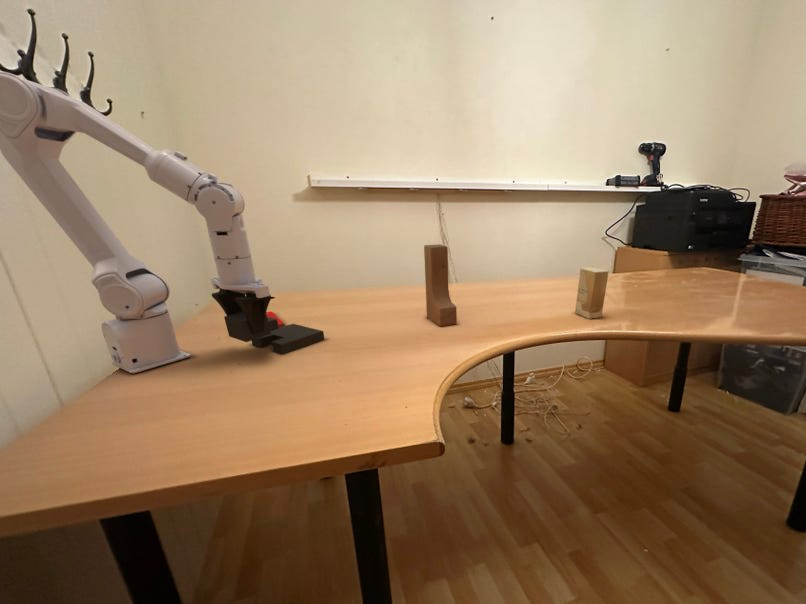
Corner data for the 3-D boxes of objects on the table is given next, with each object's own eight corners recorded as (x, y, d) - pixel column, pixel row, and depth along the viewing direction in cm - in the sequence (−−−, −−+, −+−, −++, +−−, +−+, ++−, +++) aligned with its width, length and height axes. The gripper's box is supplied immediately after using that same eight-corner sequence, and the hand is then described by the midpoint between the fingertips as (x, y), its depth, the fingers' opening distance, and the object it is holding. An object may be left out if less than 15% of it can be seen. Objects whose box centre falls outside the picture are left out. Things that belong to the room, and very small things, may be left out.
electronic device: (247, 316, 101) (258, 332, 90) (246, 314, 101) (257, 329, 90) (272, 313, 104) (286, 327, 93) (271, 311, 104) (285, 325, 93)
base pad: (283, 354, 78) (281, 344, 78) (252, 344, 83) (250, 335, 82) (324, 339, 86) (323, 330, 86) (294, 331, 91) (293, 323, 90)
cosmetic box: (574, 313, 108) (579, 267, 104) (587, 311, 110) (592, 266, 106) (589, 319, 103) (595, 271, 98) (602, 317, 105) (609, 270, 100)
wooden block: (457, 324, 98) (456, 248, 91) (440, 326, 96) (438, 249, 89) (442, 315, 105) (440, 244, 98) (426, 317, 103) (423, 245, 96)
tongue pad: (246, 342, 74) (241, 321, 72) (229, 336, 76) (223, 316, 75) (283, 329, 80) (280, 310, 78) (266, 324, 82) (262, 306, 81)
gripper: (279, 257, 71) (292, 330, 76) (231, 251, 78) (246, 318, 83) (240, 262, 66) (256, 341, 71) (192, 255, 72) (211, 327, 77)
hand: (249, 329), depth 77 cm, fingers closed on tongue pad, 5 cm apart
